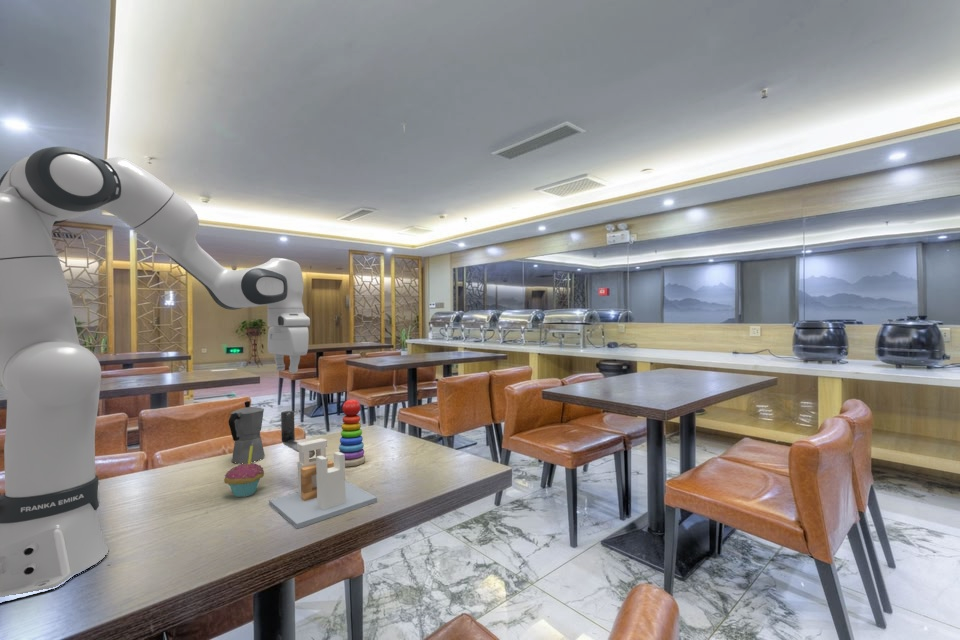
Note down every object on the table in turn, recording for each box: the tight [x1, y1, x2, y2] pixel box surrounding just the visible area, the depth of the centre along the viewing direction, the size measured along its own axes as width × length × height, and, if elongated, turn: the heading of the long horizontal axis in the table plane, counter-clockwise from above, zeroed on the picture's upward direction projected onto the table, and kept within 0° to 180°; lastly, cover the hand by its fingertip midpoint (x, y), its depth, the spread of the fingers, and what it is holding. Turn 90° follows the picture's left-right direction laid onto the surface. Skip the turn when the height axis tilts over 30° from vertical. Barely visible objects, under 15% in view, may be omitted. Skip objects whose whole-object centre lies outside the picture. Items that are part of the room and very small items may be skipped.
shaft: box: [280, 410, 316, 459], centre depth 109 cm, size 3×17×9 cm, turn 43°
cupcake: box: [223, 443, 265, 498], centre depth 105 cm, size 9×8×12 cm
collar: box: [301, 460, 334, 501], centre depth 100 cm, size 7×2×7 cm, turn 133°
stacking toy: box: [338, 398, 366, 468], centre depth 127 cm, size 8×8×19 cm
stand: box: [268, 438, 378, 529], centre depth 98 cm, size 18×17×13 cm
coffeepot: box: [228, 400, 265, 463], centre depth 132 cm, size 15×9×18 cm, turn 178°
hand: (286, 371), depth 114 cm, fingers open, 8 cm apart
